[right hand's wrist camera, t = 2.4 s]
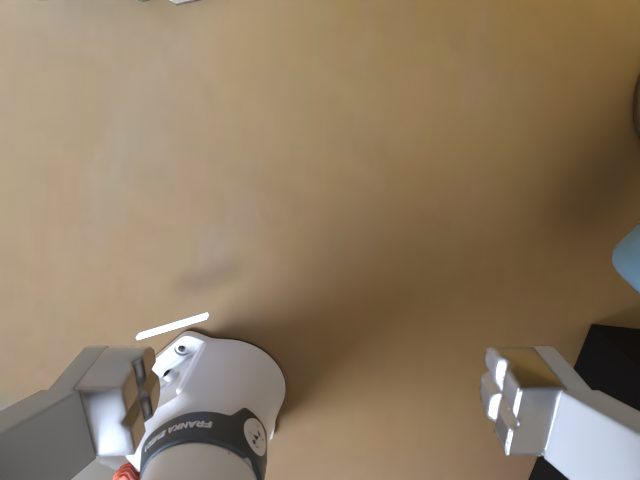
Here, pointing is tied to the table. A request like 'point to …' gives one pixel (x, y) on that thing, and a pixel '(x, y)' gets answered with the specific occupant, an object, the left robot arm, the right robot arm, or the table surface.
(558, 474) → the black box
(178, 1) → the cabinet
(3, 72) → the table surface
